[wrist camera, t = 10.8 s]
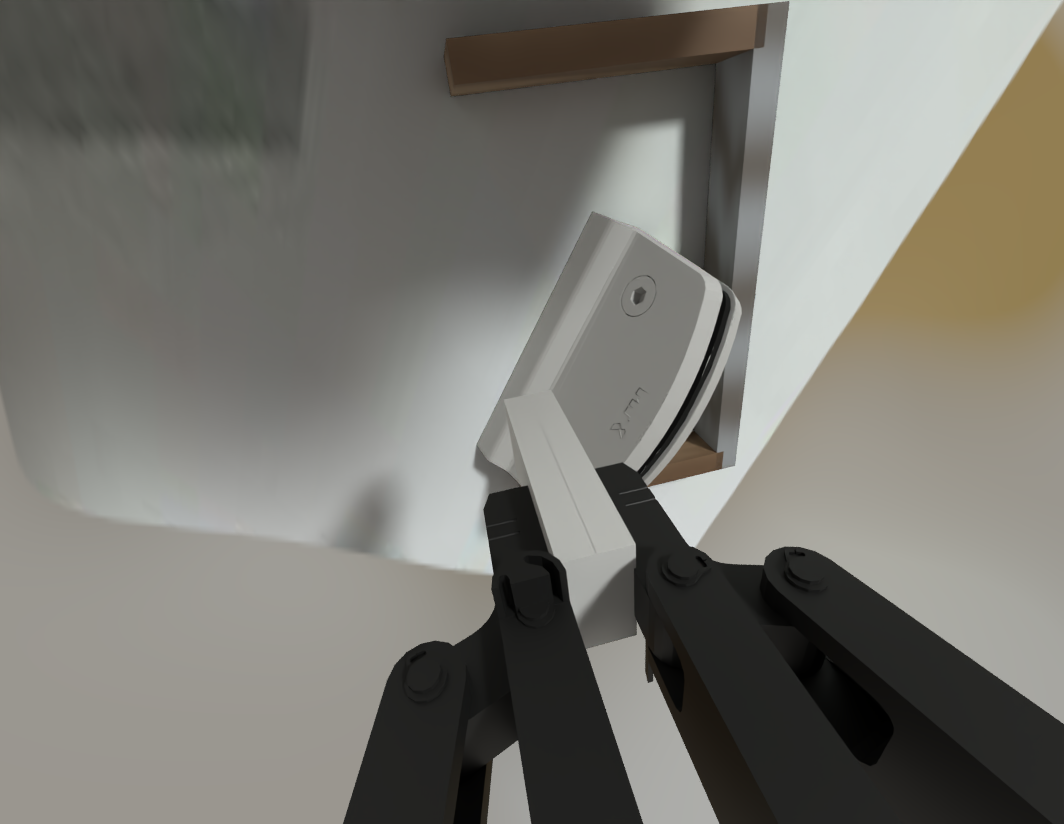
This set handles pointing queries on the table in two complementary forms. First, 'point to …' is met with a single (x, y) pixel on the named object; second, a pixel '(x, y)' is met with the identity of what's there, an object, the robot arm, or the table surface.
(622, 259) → the hinge
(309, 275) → the table surface
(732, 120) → the brown u-shaped frame
